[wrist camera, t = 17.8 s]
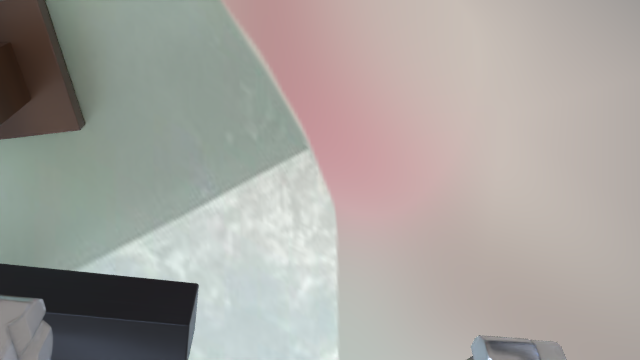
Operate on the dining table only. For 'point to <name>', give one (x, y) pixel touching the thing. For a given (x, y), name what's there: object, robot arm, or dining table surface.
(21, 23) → the stand
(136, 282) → the rod
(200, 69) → the dining table surface
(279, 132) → the dining table surface
